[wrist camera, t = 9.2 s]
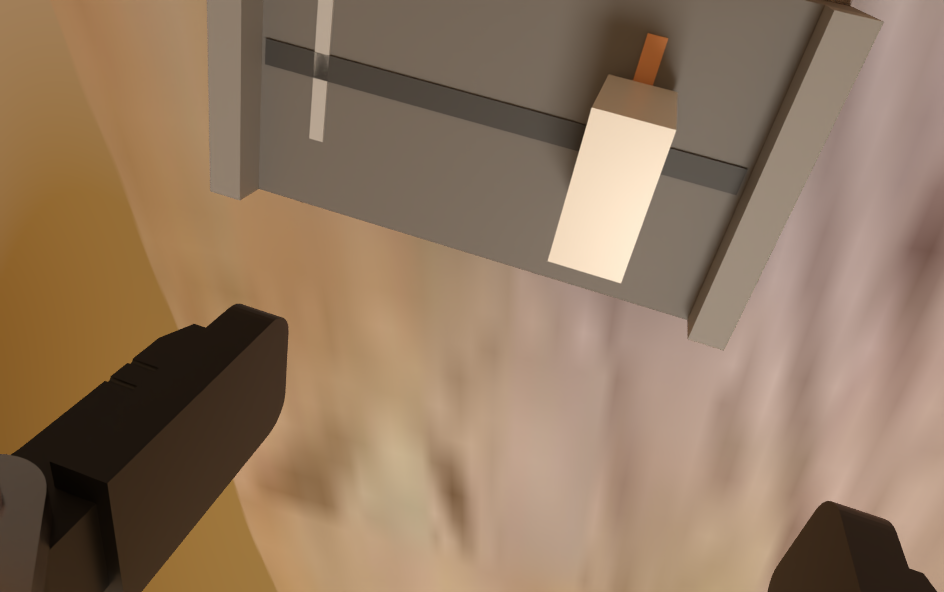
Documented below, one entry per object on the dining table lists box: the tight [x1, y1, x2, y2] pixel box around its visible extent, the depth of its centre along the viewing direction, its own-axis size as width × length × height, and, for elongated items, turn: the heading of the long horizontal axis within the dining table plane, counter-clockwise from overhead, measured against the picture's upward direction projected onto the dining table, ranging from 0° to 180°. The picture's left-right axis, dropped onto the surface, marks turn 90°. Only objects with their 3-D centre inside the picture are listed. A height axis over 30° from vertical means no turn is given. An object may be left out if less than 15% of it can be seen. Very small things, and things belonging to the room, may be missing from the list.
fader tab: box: [548, 74, 678, 283], centre depth 22 cm, size 5×2×5 cm, turn 168°
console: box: [207, 0, 884, 351], centre depth 26 cm, size 12×22×4 cm, turn 78°
